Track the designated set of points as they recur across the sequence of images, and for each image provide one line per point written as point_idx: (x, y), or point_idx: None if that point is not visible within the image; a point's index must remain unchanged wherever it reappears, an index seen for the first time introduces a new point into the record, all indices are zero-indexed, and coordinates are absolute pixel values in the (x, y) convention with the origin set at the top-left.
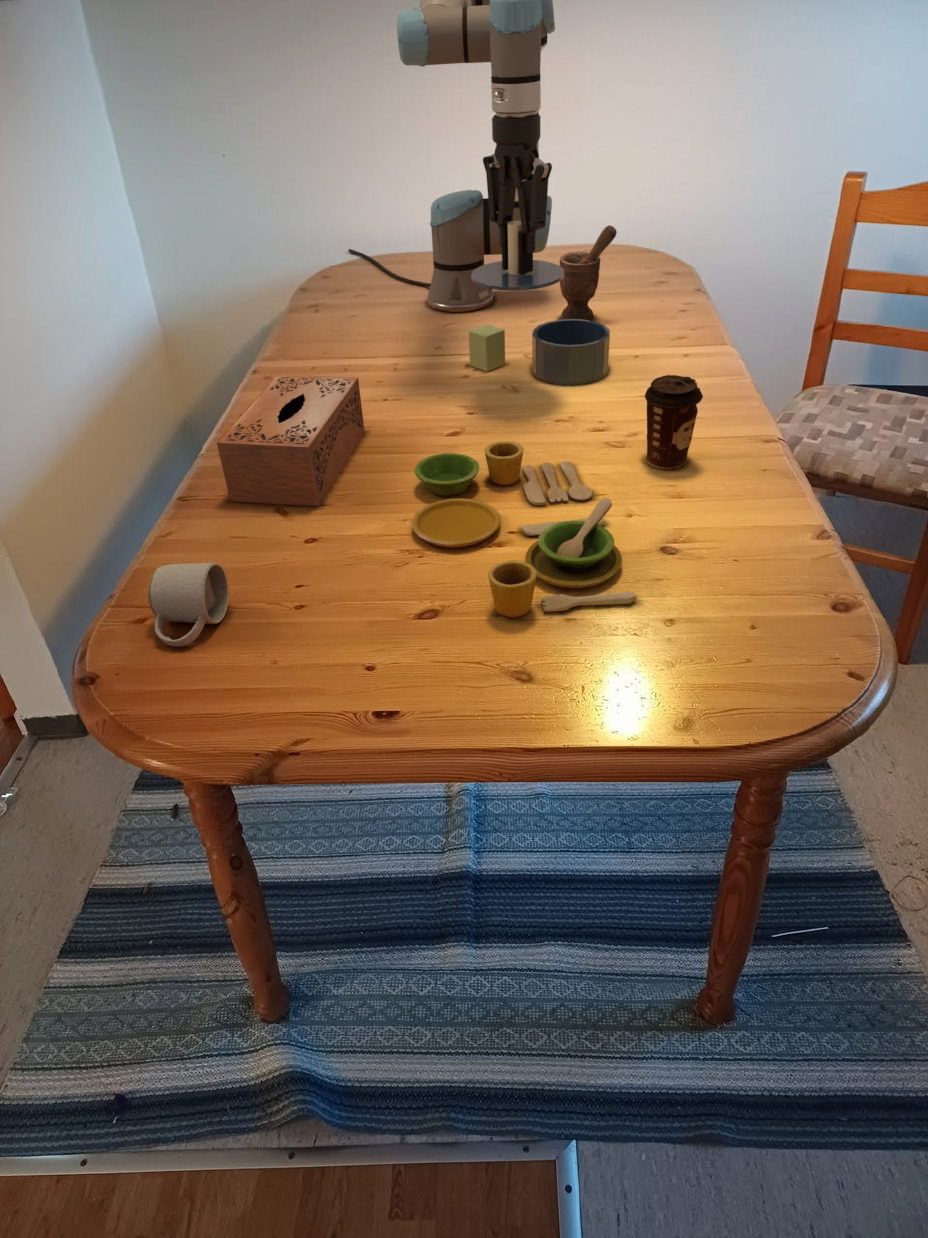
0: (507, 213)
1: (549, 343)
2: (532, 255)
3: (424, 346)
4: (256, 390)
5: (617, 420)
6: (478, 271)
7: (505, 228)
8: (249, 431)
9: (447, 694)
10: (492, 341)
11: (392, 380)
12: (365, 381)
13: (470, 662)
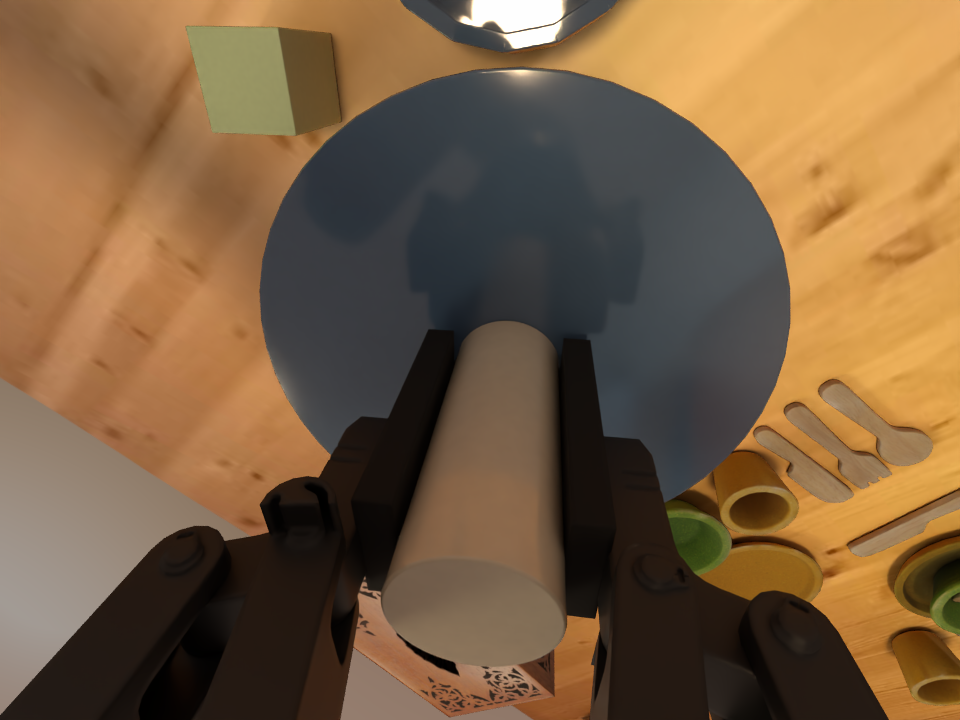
0: (333, 682)
1: (525, 41)
2: (596, 394)
3: (72, 104)
4: (159, 468)
5: (860, 130)
6: None
7: (375, 569)
8: (451, 695)
9: (900, 710)
10: (302, 100)
11: (248, 312)
12: (221, 347)
13: (902, 687)
